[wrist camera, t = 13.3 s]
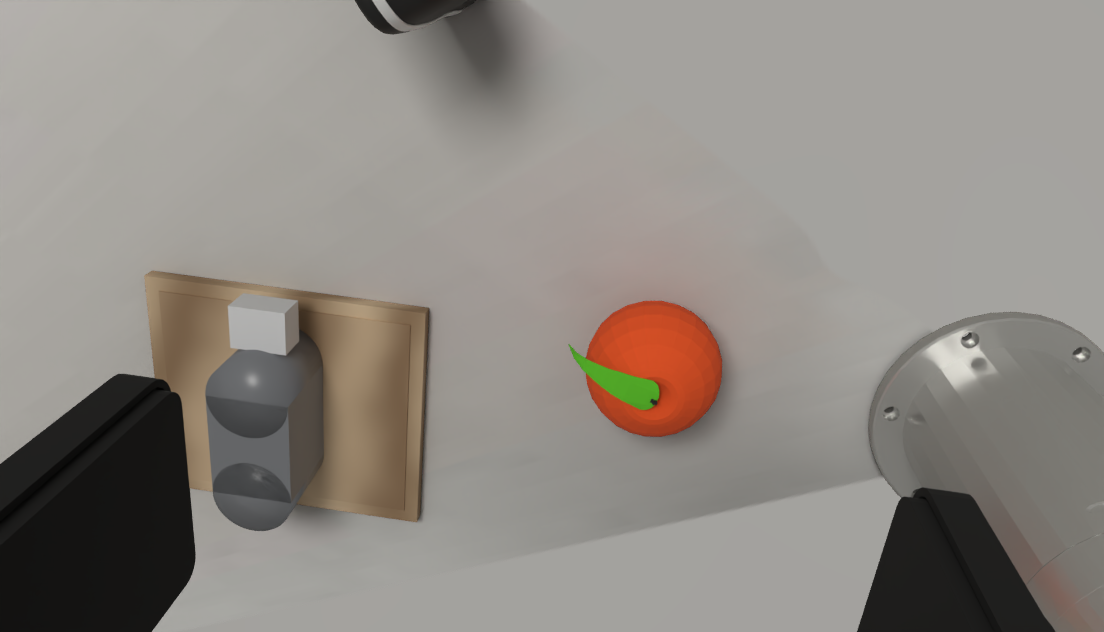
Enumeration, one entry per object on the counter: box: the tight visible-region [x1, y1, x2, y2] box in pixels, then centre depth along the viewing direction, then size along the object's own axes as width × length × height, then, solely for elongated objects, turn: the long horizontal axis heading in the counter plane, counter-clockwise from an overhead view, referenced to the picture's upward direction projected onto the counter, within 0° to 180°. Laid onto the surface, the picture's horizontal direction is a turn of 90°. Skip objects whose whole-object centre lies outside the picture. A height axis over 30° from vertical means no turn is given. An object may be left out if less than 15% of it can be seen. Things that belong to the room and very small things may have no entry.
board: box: [144, 271, 429, 522], centre depth 50 cm, size 16×14×1 cm
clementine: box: [569, 301, 722, 437], centre depth 43 cm, size 8×7×7 cm
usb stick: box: [205, 293, 324, 531], centre depth 46 cm, size 13×4×5 cm, turn 175°
